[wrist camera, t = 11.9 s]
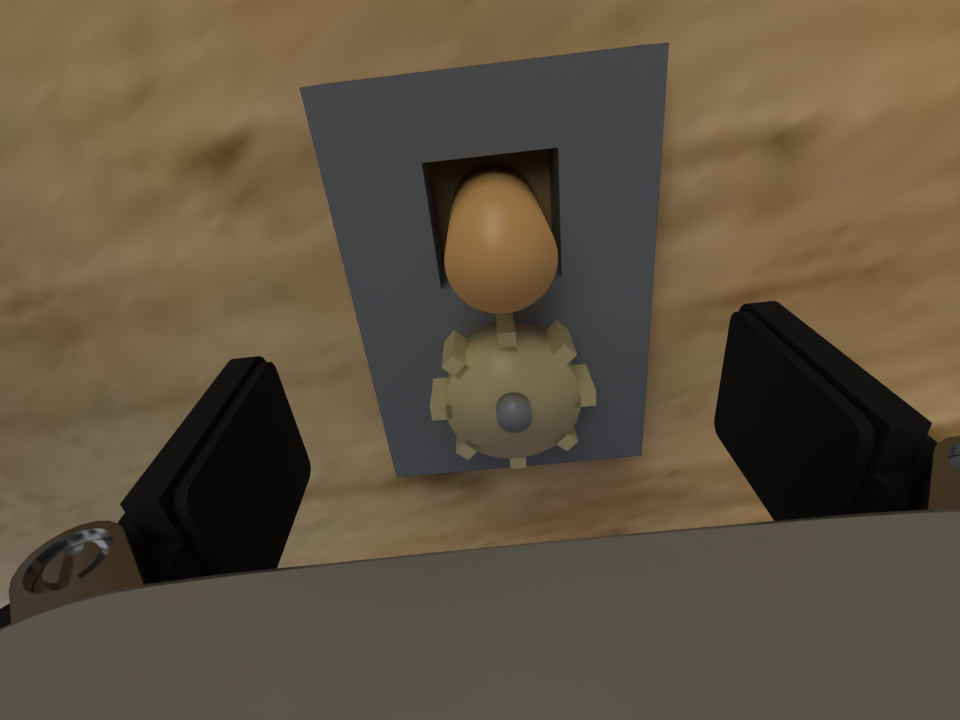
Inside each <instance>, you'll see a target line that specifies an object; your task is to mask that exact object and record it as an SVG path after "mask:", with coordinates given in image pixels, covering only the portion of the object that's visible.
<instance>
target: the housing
mask: <svg viewBox="0 0 960 720" xmlns="http://www.w3.org/2000/svg"><path fill="white" fill-rule="evenodd" d="M668 48H669V43H659V44H648V45H639V46H631V47H623V48H615V49H607V50H598V51H590V52H582V53H574V54H566V55H557V56H549V57H541V58H533V59H525V60H516V61H508V62H500V63H492V64H484V65H475V66H467V67H459V68H451V69H443V70H434V71H426V72H418V73H410V74H402V75H394V76H385V77H377V78H369V79H361V80H353V81H344V82H336V83H328V84H320V85H313V86H307V87H301V88H300V91H301V95H302V99H303V103H304V108H305V112H306V116H307V120H308V124H309V128H310V132H311V136H312V140H313V144H314V148H315V152H316V156H317V160H318V164H319V168H320V172H321V176H322V180H323V184H324V188H325V192H326V196H327V200H328V204H329V208H330V212H331V216H332V220H333V224H334V228H335V232H336V236H337V240H338V244H339V248H340V252H341V256H342V260H343V264H344V268H345V272H346V276H347V280H348V284H349V288H350V292H351V296H352V300H353V304H354V308H355V312H356V316H357V320H358V324H359V328H360V332H361V336H362V340H363V344H364V348H365V352H366V356H367V360H368V364H369V368H370V372H371V376H372V380H373V384H374V388H375V392H376V396H377V400H378V404H379V408H380V412H381V416H382V420H383V424H384V428H385V432H386V436H387V440H388V444H389V448H390V452H391V456H392V460H393V464H394V468H395V472H396V476H397V477H405V476H417V475H428V474H439V473H450V472H462V471H473V470H484V469H495V468H507V467H511V469H521V468H527V467H526V466H529V465H540V464H552V463H563V462H574V461H585V460H597V459H608V458H619V457H630V456H641V453H642V438H643V423H644V408H645V393H646V378H647V363H648V348H649V333H650V318H651V303H652V288H653V273H654V258H655V243H656V228H657V213H658V198H659V183H660V168H661V153H662V138H663V123H664V108H665V93H666V78H667V63H668ZM540 149H549V158H550V186H551V214H552V234H553V237H554V239H555V242H556V246H557V251H558V265H557V270H556V274H555V277H554V279H553V281H552V283H551V285H550V287H549V288H548V290H547V291H546V292H545V293H544V295H543V296H542V297H541V298H539V299H538V300H537V301H536V302H535V303H533V304H532V305H530V306H528V307H526V308H524V309H522V310H519V311H516V312H512V313H506V314H494V313H488V312H484V311H481V310H478V309H476V308H473V307H472V306H470V305H468V304H467V303H465V302H464V301H463V300H462V299H461V298H460V297H459V296H458V295H457V294H456V293H455V291H454V290H453V289H452V287H451V285H450V283H449V281H448V278H447V276H446V271H445V267H444V262H443V256H442V249H441V242H440V235H439V228H438V222H437V215H436V208H435V201H434V194H433V188H432V181H431V174H430V167H429V162H435V161H444V160H453V159H461V158H470V157H479V156H488V155H496V154H505V153H514V152H522V151H531V150H540Z"/></svg>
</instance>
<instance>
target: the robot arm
mask: <svg viewBox="0 0 960 720" xmlns="http://www.w3.org/2000/svg"><path fill="white" fill-rule="evenodd" d="M714 424H715V430H716V433H717V435H718V437H719V439H720V440H721V442H722V443H723V445H724V446H725V448H726V449H727V451H728V452H729V454H730V455H731V457H732V458H733V460H734V461H735V463H736V464H737V466H738V467H739V469H740V470H741V472H742V473H743V475H744V476H745V478H746V479H747V481H748V482H749V484H750V485H751V487H752V488H753V490H754V491H755V493H756V494H757V496H758V497H759V499H760V500H761V502H762V503H763V505H764V506H765V507H766V509H767V510H768V512H769V513H770V515H771V516H772V518H773V519H774V521H769V522H758V523H747V524H735V525H724V526H713V527H702V528H691V529H680V530H669V531H658V532H646V533H635V534H624V535H614V536H603V537H592V538H582V539H571V540H561V541H550V542H540V543H529V544H519V545H508V546H498V547H488V548H477V549H467V550H457V551H446V552H436V553H426V554H416V555H406V556H396V557H387V558H377V559H367V560H357V561H347V562H337V563H327V564H317V565H308V566H298V567H288V568H278V569H277V567H278V564H279V561H280V558H281V556H282V553H283V550H284V547H285V544H286V542H287V539H288V536H289V533H290V531H291V528H292V525H293V522H294V520H295V517H296V514H297V511H298V509H299V506H300V503H301V500H302V497H303V495H304V492H305V489H306V486H307V484H308V481H309V478H310V472H311V467H310V461H309V458H308V455H307V452H306V450H305V447H304V444H303V441H302V438H301V436H300V433H299V430H298V427H297V425H296V422H295V419H294V416H293V414H292V411H291V408H290V405H289V402H288V400H287V397H286V394H285V391H284V389H283V386H282V383H281V380H280V378H279V375H278V372H277V369H276V367H275V365H274V364H273V363H272V362H266V361H265V359H264V358H263V357H261V356H257V357H247V358H238V359H231V360H230V361H229V362H228V363H227V365H226V366H225V367H224V369H223V370H222V371H221V372H220V374H219V375H218V376H217V378H216V379H215V380H214V382H213V383H212V384H211V386H210V387H209V388H208V390H207V391H206V392H205V393H204V395H203V396H202V397H201V399H200V400H199V401H198V403H197V404H196V405H195V407H194V408H193V409H192V410H191V412H190V413H189V414H188V416H187V417H186V418H185V420H184V421H183V422H182V424H181V425H180V426H179V428H178V429H177V430H176V431H175V433H174V434H173V435H172V437H171V438H170V439H169V441H168V442H167V443H166V445H165V446H164V447H163V449H162V450H161V451H160V452H159V454H158V455H157V456H156V458H155V459H154V460H153V462H152V463H151V464H150V466H149V467H148V468H147V469H146V471H145V472H144V473H143V475H142V476H141V477H140V479H139V480H138V481H137V483H136V484H135V485H134V487H133V488H132V489H131V490H130V492H129V493H128V494H127V496H126V497H125V498H124V500H123V501H122V502H121V504H120V505H121V506H122V508H123V510H124V511H125V514H124V515H123V516H122V518H121V519H120V520H119V522H118V523H115V522H112V521H94V522H90V523H86V524H82V525H79V526H77V527H74V528H72V529H70V530H67V531H65V532H63V533H61V534H59V535H58V536H56V537H54V538H52V539H51V540H49V541H47V542H46V543H45V544H43V545H42V546H41V547H39V548H38V549H37V550H35V551H34V552H33V553H32V554H31V555H30V556H29V557H28V558H27V559H26V560H25V561H24V562H23V563H22V564H21V565H20V566H19V568H18V569H17V571H16V572H15V574H14V576H13V577H12V579H11V583H10V587H9V600H10V604H8V605H6V606H5V607H3V608H1V609H0V720H960V436H954V437H948V438H946V439H944V440H942V441H940V442H938V443H937V442H936V441H935V440H933V439H932V438H931V437H930V436H928V435H927V434H928V431H929V429H930V427H931V424H932V423H931V422H930V421H929V420H928V419H926V418H925V417H924V416H923V415H921V414H920V413H919V412H917V411H916V410H915V409H914V408H912V407H911V406H910V405H908V404H907V403H906V402H905V401H903V400H902V399H901V398H900V397H898V396H897V395H896V394H894V393H893V392H892V391H891V390H889V389H888V388H887V387H885V386H884V385H883V384H882V383H880V382H879V381H878V380H877V379H875V378H874V377H873V376H871V375H870V374H869V373H868V372H866V371H865V370H864V369H862V368H861V367H860V366H859V365H857V364H856V363H855V362H854V361H852V360H851V359H850V358H848V357H847V356H846V355H845V354H843V353H842V352H841V351H839V350H838V349H837V348H836V347H834V346H833V345H832V344H831V343H829V342H828V341H827V340H825V339H824V338H823V337H822V336H820V335H819V334H818V333H817V332H815V331H814V330H813V329H811V328H810V327H809V326H808V325H806V324H805V323H804V322H802V321H801V320H800V319H799V318H797V317H796V316H795V315H794V314H792V313H791V312H790V311H788V310H787V309H786V308H785V307H783V306H782V305H781V304H779V303H778V302H776V301H768V302H759V303H750V304H744V305H742V306H741V308H740V310H739V312H734V313H733V314H732V316H731V319H730V324H729V330H728V337H727V343H726V349H725V356H724V362H723V368H722V375H721V381H720V387H719V394H718V400H717V406H716V413H715V420H714Z"/></svg>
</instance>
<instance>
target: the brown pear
mask: <svg viewBox="0 0 960 720" xmlns="http://www.w3.org/2000/svg"><path fill="white" fill-rule="evenodd" d="M444 264H445V271H446V276H447V278H448V281H449V283H450V285H451V287H452V289H453V290H454V291H455V293H456V294H457V295H458V296H459V297H460V298H461V299H462V300H463V301H464V302H465V303H467V304H468V305H470V306H472V307H473V308H476V309H478V310H481V311H484V312H488V313H494V314H506V313H512V312H516V311H519V310H522V309H524V308H526V307H528V306H530V305H532V304H533V303H535V302H536V301H537V300H538V299H539V298H541V297H542V296H543V295H544V293H545V292H546V291H547V290H548V288H549V287H550V285H551V283H552V281H553V279H554V277H555V274H556V270H557V265H558V251H557V246H556V242H555V239H554V237H553V234H552V232H551V230H550V228H549V226H548V223H547V221H546V219H545V217H544V215H543V213H542V211H541V208H540V206H539V204H538V202H537V200H536V198H535V195H534V193H533V191H532V189H531V187H530V185H529V183H528V181H527V180H526V179H525V177H524V176H523V175H522V174H521V173H520V172H518V171H517V170H515V169H514V168H512V167H510V166H507V165H504V164H498V163H489V164H484V165H481V166H478V167H476V168H474V169H472V170H471V171H469V172H468V173H467V174H466V175H464V177H463V178H462V179H461V180H460V182H459V183H458V185H457V187H456V189H455V192H454V195H453V200H452V206H451V213H450V220H449V227H448V234H447V241H446V248H445V257H444Z"/></svg>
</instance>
